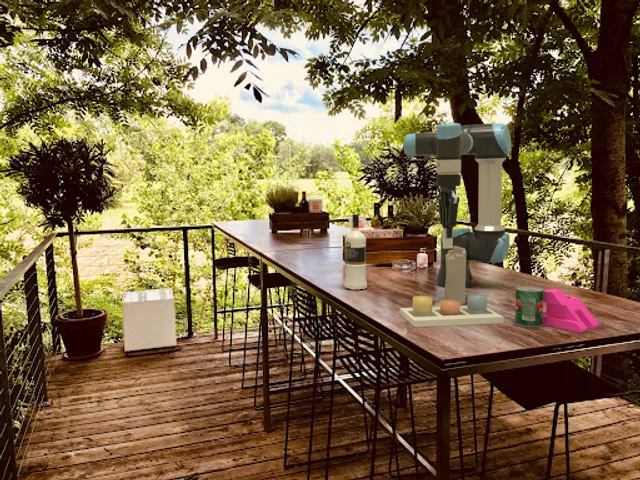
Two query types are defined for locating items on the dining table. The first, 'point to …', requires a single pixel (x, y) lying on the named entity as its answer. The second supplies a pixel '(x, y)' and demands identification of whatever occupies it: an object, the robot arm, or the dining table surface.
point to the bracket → (567, 312)
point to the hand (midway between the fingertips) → (447, 247)
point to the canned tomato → (529, 306)
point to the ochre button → (422, 304)
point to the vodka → (355, 257)
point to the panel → (451, 317)
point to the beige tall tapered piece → (455, 275)
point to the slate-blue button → (477, 302)
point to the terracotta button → (449, 307)
